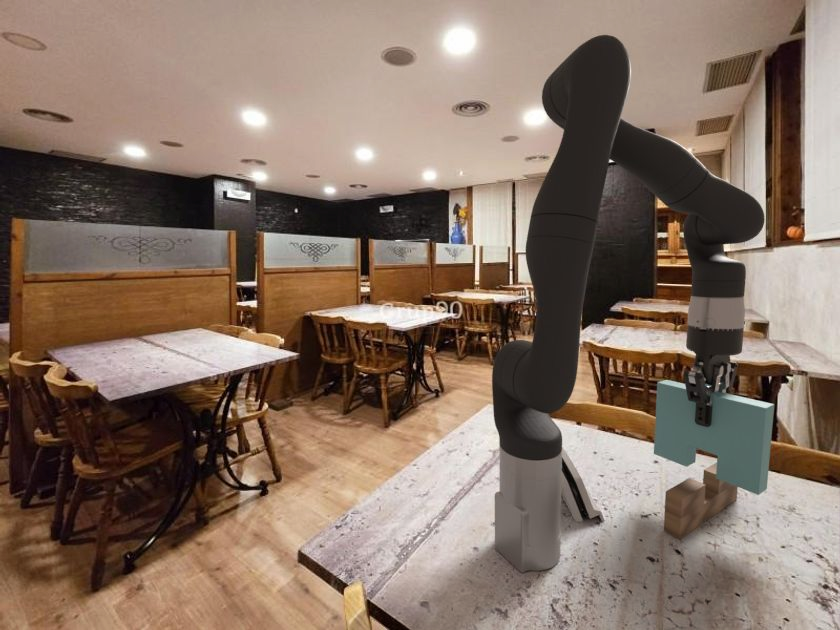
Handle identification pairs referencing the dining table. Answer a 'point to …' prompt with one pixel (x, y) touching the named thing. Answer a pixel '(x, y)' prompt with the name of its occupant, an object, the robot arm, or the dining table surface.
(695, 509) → the notched wooden block
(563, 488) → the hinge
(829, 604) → the dining table surface
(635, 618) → the dining table surface
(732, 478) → the teal plate
